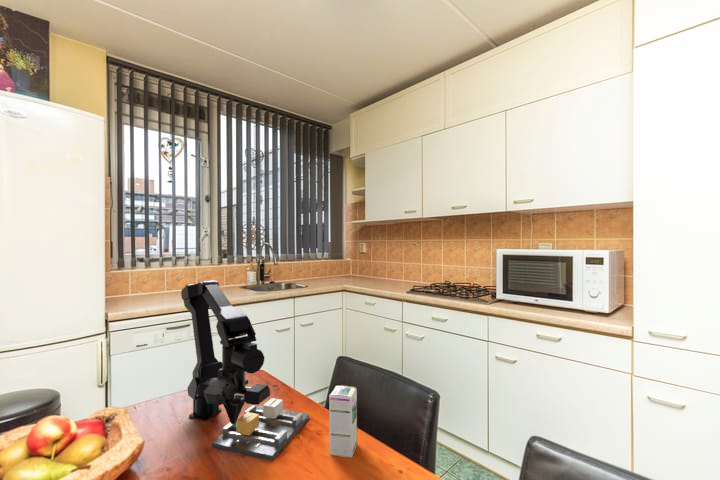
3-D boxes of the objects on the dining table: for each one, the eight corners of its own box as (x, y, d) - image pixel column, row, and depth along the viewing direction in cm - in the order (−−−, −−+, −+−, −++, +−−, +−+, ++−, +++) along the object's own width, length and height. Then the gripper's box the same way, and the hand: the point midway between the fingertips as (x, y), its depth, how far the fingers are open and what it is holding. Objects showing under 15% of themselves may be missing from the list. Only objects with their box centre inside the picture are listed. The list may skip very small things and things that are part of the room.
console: (211, 447, 82) (211, 435, 82) (258, 409, 101) (258, 399, 101) (271, 460, 77) (272, 447, 77) (309, 418, 96) (309, 407, 96)
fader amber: (236, 438, 83) (236, 420, 83) (247, 429, 88) (247, 411, 88) (248, 440, 82) (248, 422, 82) (258, 431, 87) (258, 413, 87)
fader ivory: (263, 421, 91) (263, 404, 92) (271, 413, 96) (271, 397, 96) (274, 423, 90) (274, 406, 91) (282, 415, 95) (282, 399, 95)
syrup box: (352, 458, 78) (352, 396, 78) (328, 455, 79) (328, 394, 79) (357, 444, 83) (357, 386, 84) (335, 441, 85) (335, 384, 85)
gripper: (180, 370, 82) (180, 434, 81) (245, 379, 76) (244, 447, 76) (213, 356, 92) (212, 412, 92) (271, 363, 87) (271, 422, 86)
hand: (233, 423), depth 86 cm, fingers closed
